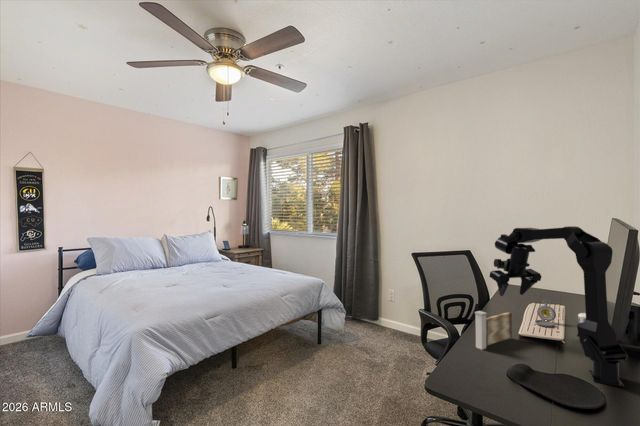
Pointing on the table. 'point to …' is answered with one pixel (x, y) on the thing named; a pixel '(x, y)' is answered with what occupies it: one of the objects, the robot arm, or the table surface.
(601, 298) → the robot arm
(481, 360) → the table surface
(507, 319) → the gate
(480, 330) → the gate post
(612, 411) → the table surface
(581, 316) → the milkshake
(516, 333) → the table surface
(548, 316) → the pocket watch
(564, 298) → the table surface
